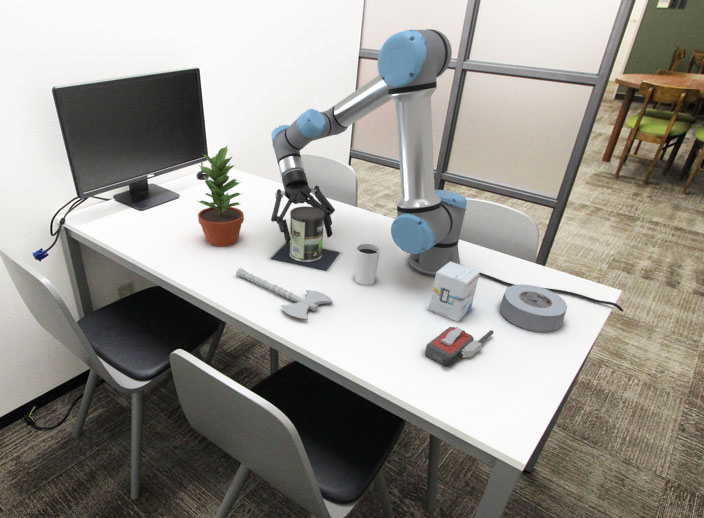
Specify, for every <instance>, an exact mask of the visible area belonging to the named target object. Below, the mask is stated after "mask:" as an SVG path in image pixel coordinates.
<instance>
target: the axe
mask: <svg viewBox="0 0 704 518" xmlns="http://www.w3.org/2000/svg"><path fill="white" fill-rule="evenodd" d="M235 274H236V276H237V277H239V278H243V279H246V280H247V281H251V282H252V283H253V284H254V283H255V284H256V285H257V286H261V287H262V288H265V289H267V290H270V292H272V293H275V294H276V295H277V296H281V297H282V298H286V299H287V300H288V301H292V302H294V303H290V304H281V305H280V308H281V309H282V311H283V312H285V314H287V315H289V316H291V317H294V318H297V319H303V320H308V319H309V318H308V315H307V313H308V311H309V310H311V311H313V312H316V311H317V310H318V307H319V305H324V304H333V303H334V301H333V300H332V298H330V297H329V296H328V295H327V294H325V293H323V292H320V291H317V290H311V289H306V290H305V292H306V294H307V295H306V297H305V298H303V297H301V296H298V295H296V294H294V293H293V292H292V291H289V290H288V289H286V288H285V289H284V288H283V287H282V286H278V285H277V284H273V283H271V282H269V281H267V280H265V279H263V278H261V277H258V276H257V275H253V273H251V272H250V273H249V272H248V271H246V270H245V269H244V268H242V267H239V268H238V269H236V272H235Z"/></svg>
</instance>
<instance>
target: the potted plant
mask: <svg viewBox="0 0 704 518" xmlns="http://www.w3.org/2000/svg"><path fill="white" fill-rule="evenodd" d="M228 150H229V149H228V145H226V146H225V147H222V148H220V149H219V150H218V152H217V153H216V154H215V156H213V157H210V156H209V155H208V154H203V157H204V158H205V159H206V160H207V161H208V162H209V164H210V167H208V166H201V165H200V164H199V167H200V170H201V171H202V172H203V173H205V174H206V175H207V176H208V177H209V178H210V179H208V178H207V177H206V176H203V178H204V179H205V180H204V182H205V184H206V186H207V187H208V189H209V190H210V193H211V194H210V193H207V192H206V193H205V194H204V195H205V196H208V197H210V198H211V199H212V201H211V202H209V201H205V200H197V202H198V203H200V204H202V205H204V206H206V207H207V208H204V209H202V210H200V211H198V214H197V220H198V224H199V225H200V226H201V230H202V232H203V235H204V237H205V239H206V242H207V244H209V245H211V246H214V247H229V246H232V245H235V244H236V243H237V242H238V240H239V236H240V232H241V227H242V225H243V222H244V221H245V215H244V211H242V210H241V209H239V208H237V207H235V206H240V205H241V203H240V202H238V201H237V202H231V199H234V198H236V197H238V196H241V195H243V194H244V193H240V192H234V193H231V194H229V192H228V191H229V190H231V189H233V188H234V187H236V186H238V185H240V184H241V183H242V181H240V182H238V179H237V178H234V179H231V180H229V179H230V176H229V175H228V173H229V172H230V170H231V169H233V168H234V167H235V166H236V164H233V165H231V163H230V162H231V159H232V158H233V156H230V157H229V158H226V157H227V153H228ZM228 163H229V164H228ZM226 192H227V193H226ZM225 193H226V194H225Z"/></svg>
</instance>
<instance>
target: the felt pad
mask: <svg viewBox="0 0 704 518" xmlns="http://www.w3.org/2000/svg"><path fill="white" fill-rule="evenodd" d="M340 253H341V252H340V251H336V250H332V249H327V248H322V257H321V258H320V259H319V260H317V261H313V262H301V261H297V260H294V259H292V258H291V257H290V242H289V243H286V242H285V243H284V244H283V245H282V247H280V248H279V249H278V250H277V252H275V253H274V254H273V255H272V256H271V257H270V260H274V261H279V262H284V263H287V264H288V263H289V264H292V265H298V266H301V267H306V268H311V269H316V270H320V271H324V272H327V271H328V270H329V268H330V267H331V265H332V264H333V263H334V261H335V260H336V258H337V257H338V256H339V254H340Z"/></svg>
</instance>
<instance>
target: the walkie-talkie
mask: <svg viewBox="0 0 704 518" xmlns="http://www.w3.org/2000/svg"><path fill="white" fill-rule="evenodd" d="M494 333H495V332H494V330H492V329H490V330H489V331H488V332H486V333H485V335H483V336H482V337H481V338H479V339H478V340H474V339H475V338H474V336H473V335H471V334H469V333H468V332H466V331H465V330H464V329H462V328H459V327H458V326H449V327H447V329H445V330H443V331H442V332H441V333H439V335H437V336H436V337H435V338H434V339H432V340H431V341H430V342H428V343H427V344H426V346H425V351H424V355H425V356H427V357H428V358H430V359H432V360H434V362H435V361H436V362H438V363H439V364H441V365H443V366H445V367H449V366H451V365H452V364H454V362H456V361H457V360H458V359H459V358H461V359H464V358H465V359H466V358H472V357H473V356H474V355H476V354H477V353H478V352H480V351H481V349H482V345H483V344H484V343H485V342H486V341H487V340H488V339H489V338H490V337H491V336H493V334H494Z"/></svg>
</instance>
